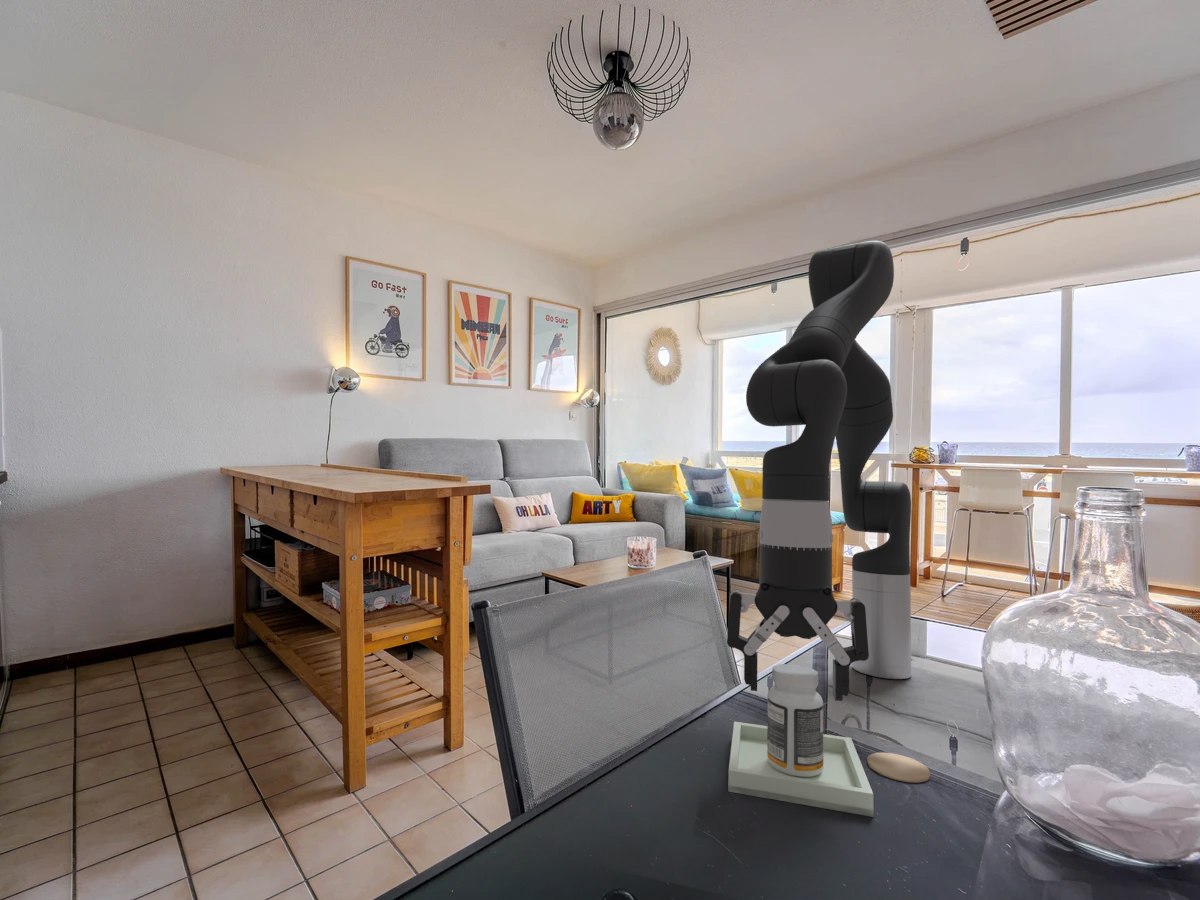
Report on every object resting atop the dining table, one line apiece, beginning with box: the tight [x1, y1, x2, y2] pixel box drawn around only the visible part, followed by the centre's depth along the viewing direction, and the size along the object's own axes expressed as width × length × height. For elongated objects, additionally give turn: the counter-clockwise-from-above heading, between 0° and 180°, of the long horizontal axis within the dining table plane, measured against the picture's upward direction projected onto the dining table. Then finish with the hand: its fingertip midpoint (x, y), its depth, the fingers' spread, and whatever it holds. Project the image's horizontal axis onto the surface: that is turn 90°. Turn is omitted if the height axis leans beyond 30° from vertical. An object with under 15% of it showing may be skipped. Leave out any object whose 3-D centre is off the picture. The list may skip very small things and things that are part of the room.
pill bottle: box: [766, 663, 824, 777], centre depth 60 cm, size 6×6×10 cm
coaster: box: [867, 752, 931, 784], centre depth 61 cm, size 6×6×1 cm
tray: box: [727, 721, 875, 818], centre depth 59 cm, size 13×13×2 cm
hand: (794, 693), depth 60 cm, fingers open, 8 cm apart
